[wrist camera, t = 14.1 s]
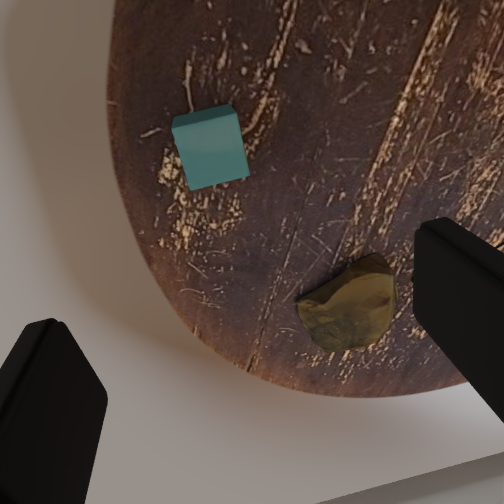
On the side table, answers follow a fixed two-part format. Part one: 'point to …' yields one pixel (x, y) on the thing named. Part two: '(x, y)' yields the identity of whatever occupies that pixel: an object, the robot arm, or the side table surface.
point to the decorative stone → (351, 306)
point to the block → (210, 146)
